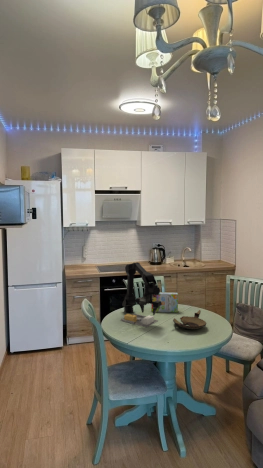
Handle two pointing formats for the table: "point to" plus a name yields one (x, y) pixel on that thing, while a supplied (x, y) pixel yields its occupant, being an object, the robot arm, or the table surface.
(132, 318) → the amber plug
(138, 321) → the organiser
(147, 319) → the grey plug
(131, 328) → the table surface
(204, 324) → the oil lamp
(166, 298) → the snack box
